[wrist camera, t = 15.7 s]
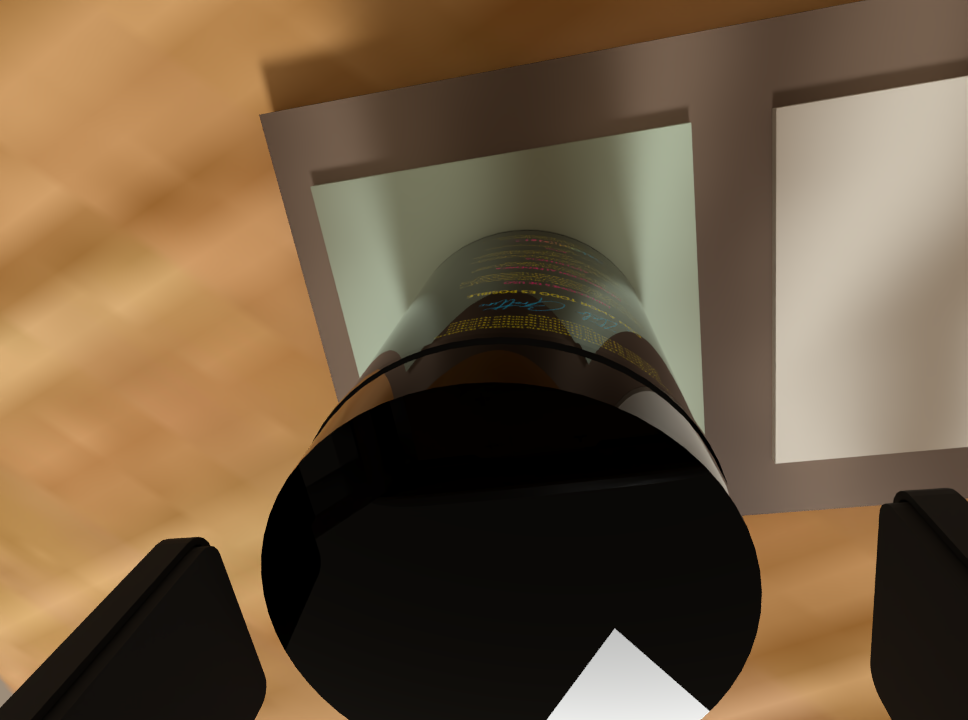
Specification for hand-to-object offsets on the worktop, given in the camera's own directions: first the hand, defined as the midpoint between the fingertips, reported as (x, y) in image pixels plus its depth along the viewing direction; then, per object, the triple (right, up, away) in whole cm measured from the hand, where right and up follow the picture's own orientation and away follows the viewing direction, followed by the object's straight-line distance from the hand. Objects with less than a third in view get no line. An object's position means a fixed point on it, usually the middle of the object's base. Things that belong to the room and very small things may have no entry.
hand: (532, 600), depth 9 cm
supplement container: (+1, +4, +9) cm, 10 cm away
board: (+6, +5, +9) cm, 13 cm away
